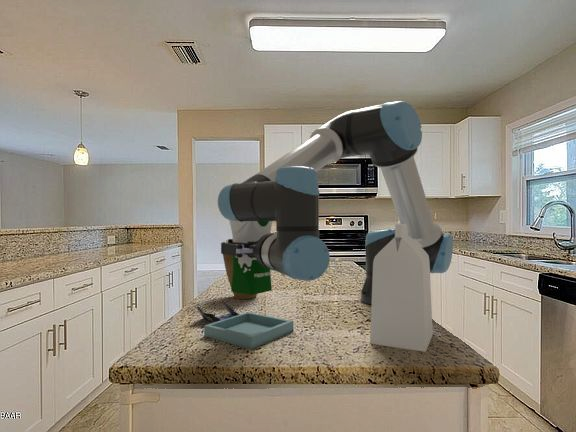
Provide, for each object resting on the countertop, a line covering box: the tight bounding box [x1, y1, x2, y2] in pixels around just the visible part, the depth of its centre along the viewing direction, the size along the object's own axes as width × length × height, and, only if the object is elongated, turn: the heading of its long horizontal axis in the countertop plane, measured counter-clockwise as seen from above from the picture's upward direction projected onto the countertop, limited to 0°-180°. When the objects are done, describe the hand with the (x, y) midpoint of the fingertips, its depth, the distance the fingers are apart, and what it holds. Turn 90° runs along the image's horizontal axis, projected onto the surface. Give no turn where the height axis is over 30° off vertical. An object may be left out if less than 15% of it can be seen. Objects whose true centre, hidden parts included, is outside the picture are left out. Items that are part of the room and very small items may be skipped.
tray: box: [203, 311, 294, 350], centre depth 90 cm, size 15×15×2 cm
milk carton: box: [228, 220, 273, 295], centre depth 92 cm, size 9×9×20 cm
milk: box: [369, 223, 434, 353], centre depth 85 cm, size 12×12×26 cm
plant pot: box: [222, 254, 258, 300], centre depth 131 cm, size 15×15×16 cm
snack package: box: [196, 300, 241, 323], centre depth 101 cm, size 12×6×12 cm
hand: (246, 244), depth 96 cm, fingers closed on milk carton, 9 cm apart
